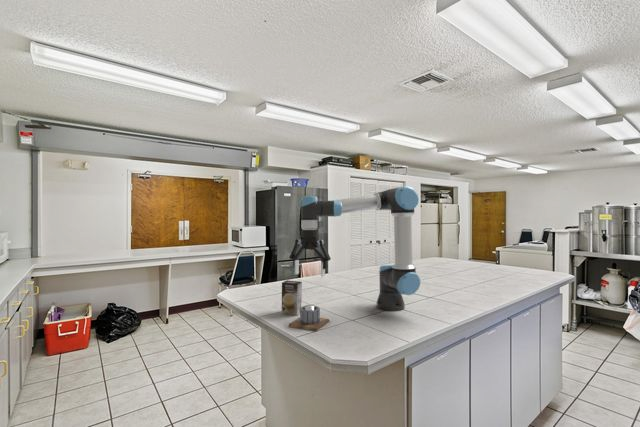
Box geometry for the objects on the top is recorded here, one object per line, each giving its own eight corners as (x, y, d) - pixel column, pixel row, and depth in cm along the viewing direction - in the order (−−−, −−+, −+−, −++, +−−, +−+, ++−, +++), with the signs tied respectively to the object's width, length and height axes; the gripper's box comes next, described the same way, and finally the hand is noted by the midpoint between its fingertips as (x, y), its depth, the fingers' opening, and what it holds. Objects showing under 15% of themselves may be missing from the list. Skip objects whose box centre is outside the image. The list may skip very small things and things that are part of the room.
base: (329, 321, 148) (329, 318, 148) (316, 331, 135) (316, 328, 135) (303, 317, 154) (303, 315, 154) (288, 326, 141) (288, 323, 141)
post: (316, 320, 145) (316, 305, 145) (311, 323, 141) (311, 308, 141) (307, 319, 147) (307, 304, 147) (303, 322, 143) (303, 306, 143)
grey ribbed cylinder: (322, 319, 146) (322, 307, 146) (314, 325, 138) (314, 312, 138) (305, 317, 150) (305, 304, 150) (296, 323, 142) (296, 309, 142)
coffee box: (280, 313, 159) (280, 282, 160) (286, 310, 166) (286, 280, 166) (297, 315, 156) (297, 283, 157) (302, 312, 163) (302, 281, 163)
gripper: (337, 229, 143) (337, 275, 143) (290, 228, 154) (290, 271, 153) (331, 229, 136) (331, 278, 136) (282, 229, 147) (282, 274, 146)
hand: (309, 275), depth 145 cm, fingers open, 13 cm apart
